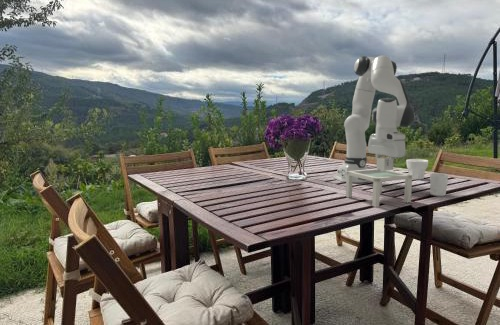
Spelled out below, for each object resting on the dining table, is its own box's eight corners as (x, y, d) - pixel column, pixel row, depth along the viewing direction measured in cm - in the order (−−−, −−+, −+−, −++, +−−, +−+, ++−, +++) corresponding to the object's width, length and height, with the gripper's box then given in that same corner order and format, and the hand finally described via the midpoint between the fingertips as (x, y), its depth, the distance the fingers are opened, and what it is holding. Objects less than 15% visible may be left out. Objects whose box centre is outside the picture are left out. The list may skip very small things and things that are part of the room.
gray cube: (376, 168, 172) (376, 158, 171) (385, 168, 174) (385, 157, 173) (384, 170, 167) (384, 159, 167) (392, 169, 169) (393, 158, 169)
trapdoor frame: (345, 196, 182) (346, 171, 180) (378, 193, 190) (379, 168, 188) (375, 207, 163) (376, 178, 161) (410, 202, 170) (412, 175, 169)
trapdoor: (356, 179, 179) (356, 172, 178) (379, 177, 184) (379, 170, 184) (376, 184, 166) (376, 177, 166) (400, 182, 171) (401, 175, 171)
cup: (428, 177, 230) (429, 159, 228) (425, 180, 220) (427, 162, 218) (407, 175, 237) (408, 158, 235) (403, 179, 226) (404, 160, 225)
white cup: (439, 197, 180) (441, 176, 179) (425, 193, 187) (426, 174, 186) (450, 195, 184) (451, 175, 182) (436, 192, 191) (437, 172, 189)
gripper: (365, 133, 177) (364, 162, 179) (396, 136, 158) (395, 168, 160) (375, 133, 179) (374, 161, 181) (408, 135, 160) (406, 167, 162)
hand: (384, 165), depth 170 cm, fingers closed on gray cube, 5 cm apart
